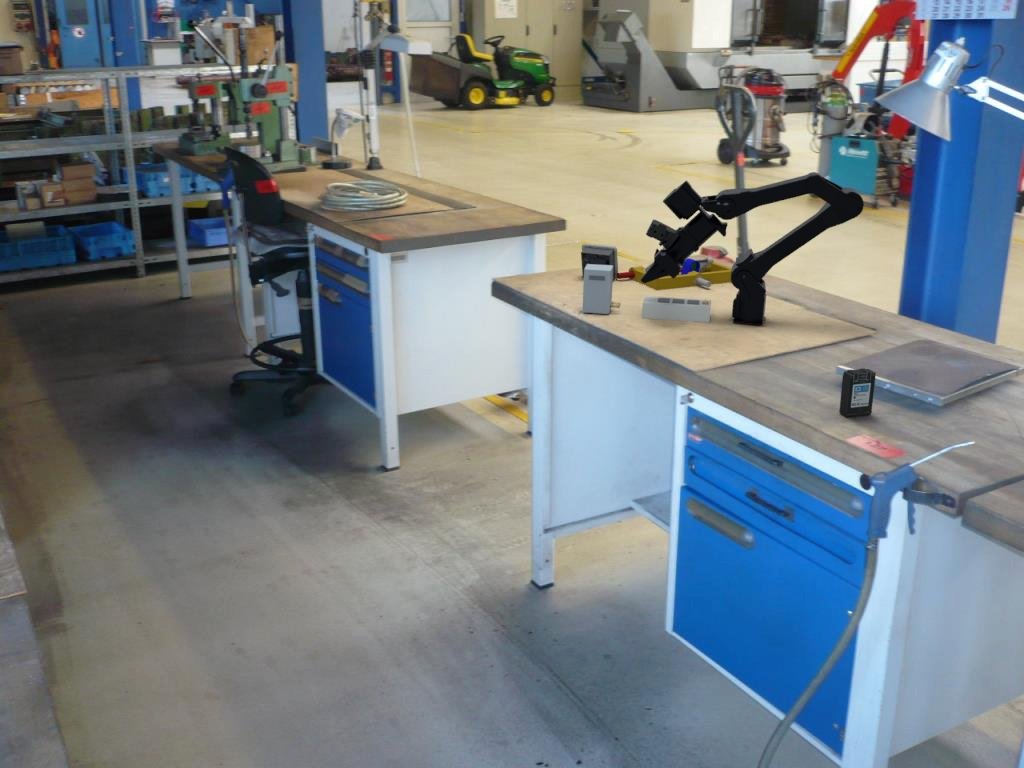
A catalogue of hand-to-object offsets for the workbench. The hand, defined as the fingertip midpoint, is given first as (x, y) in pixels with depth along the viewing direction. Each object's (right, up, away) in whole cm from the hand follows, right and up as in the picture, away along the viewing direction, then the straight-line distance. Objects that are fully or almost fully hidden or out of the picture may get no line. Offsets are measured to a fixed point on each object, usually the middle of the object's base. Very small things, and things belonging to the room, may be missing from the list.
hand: (642, 281), depth 241 cm
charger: (-9, -6, +4) cm, 12 cm away
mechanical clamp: (+14, +2, +32) cm, 35 cm away
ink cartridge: (+30, -29, -57) cm, 70 cm away
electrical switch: (-7, +4, +34) cm, 34 cm away
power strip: (+9, -6, +6) cm, 12 cm away
